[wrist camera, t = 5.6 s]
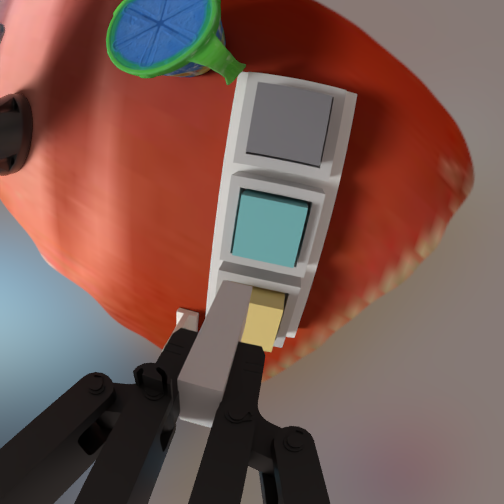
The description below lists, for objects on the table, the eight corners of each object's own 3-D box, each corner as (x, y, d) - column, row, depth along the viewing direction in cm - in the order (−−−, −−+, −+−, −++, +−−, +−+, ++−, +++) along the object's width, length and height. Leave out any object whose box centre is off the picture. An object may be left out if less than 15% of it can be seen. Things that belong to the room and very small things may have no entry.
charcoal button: (252, 149, 25) (245, 151, 21) (263, 90, 22) (257, 81, 19) (315, 162, 25) (319, 166, 21) (327, 102, 22) (332, 95, 18)
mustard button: (226, 319, 33) (218, 340, 30) (232, 277, 31) (223, 296, 27) (274, 329, 33) (271, 352, 29) (285, 289, 30) (283, 310, 27)
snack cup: (277, 60, 24) (268, 25, 15) (207, 122, 28) (167, 118, 19) (187, -8, 21) (151, -45, 12) (128, 50, 25) (77, 32, 15)
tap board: (209, 309, 38) (198, 332, 33) (242, 75, 25) (232, 64, 21) (294, 328, 37) (293, 353, 32) (353, 96, 24) (364, 89, 20)
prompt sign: (178, 337, 41) (156, 378, 33) (179, 307, 38) (153, 348, 30) (196, 342, 40) (177, 385, 32) (198, 312, 38) (176, 355, 30)
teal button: (239, 240, 30) (232, 255, 27) (248, 187, 28) (241, 194, 24) (293, 251, 30) (293, 268, 26) (306, 198, 27) (308, 208, 24)
